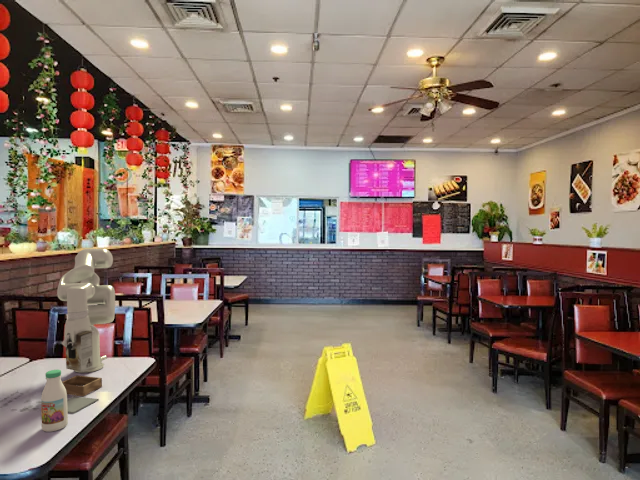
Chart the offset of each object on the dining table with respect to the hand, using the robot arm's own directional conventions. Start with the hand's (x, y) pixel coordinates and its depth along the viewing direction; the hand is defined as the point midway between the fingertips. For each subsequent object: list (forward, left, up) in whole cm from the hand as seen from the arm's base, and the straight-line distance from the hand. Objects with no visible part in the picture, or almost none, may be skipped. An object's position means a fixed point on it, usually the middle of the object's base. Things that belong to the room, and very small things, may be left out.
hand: (79, 354), depth 178 cm
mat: (+14, +11, -15) cm, 23 cm away
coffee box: (0, 0, -6) cm, 6 cm away
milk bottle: (+30, +19, -15) cm, 38 cm away
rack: (+1, +1, -15) cm, 15 cm away
